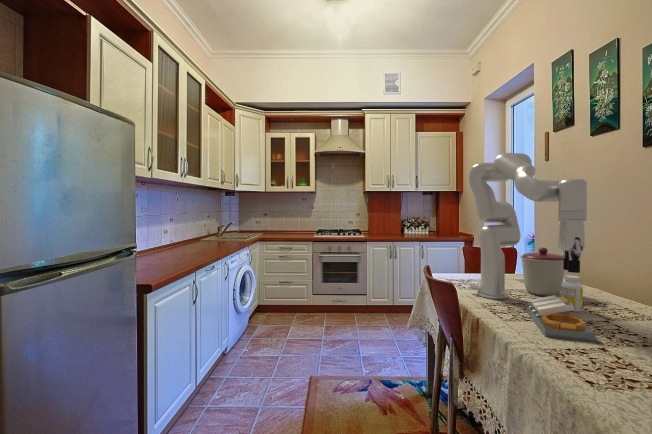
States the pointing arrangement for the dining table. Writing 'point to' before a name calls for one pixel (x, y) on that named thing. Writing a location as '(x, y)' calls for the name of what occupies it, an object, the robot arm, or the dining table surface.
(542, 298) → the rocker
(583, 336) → the panel
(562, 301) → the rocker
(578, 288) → the supplement bottle
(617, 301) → the dining table surface
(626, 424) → the dining table surface
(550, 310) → the bar
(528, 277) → the canister
